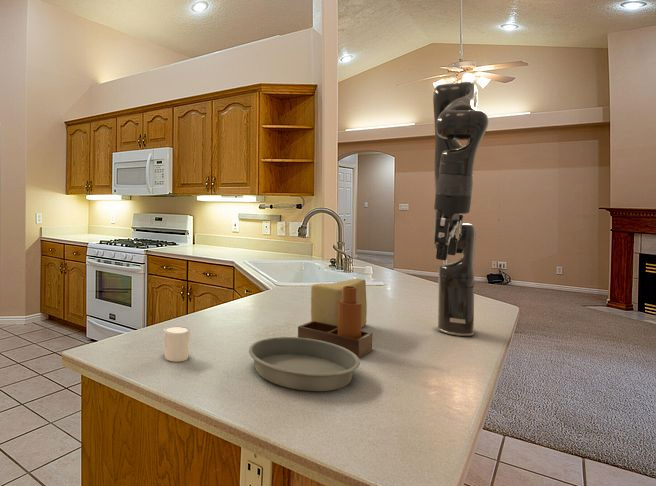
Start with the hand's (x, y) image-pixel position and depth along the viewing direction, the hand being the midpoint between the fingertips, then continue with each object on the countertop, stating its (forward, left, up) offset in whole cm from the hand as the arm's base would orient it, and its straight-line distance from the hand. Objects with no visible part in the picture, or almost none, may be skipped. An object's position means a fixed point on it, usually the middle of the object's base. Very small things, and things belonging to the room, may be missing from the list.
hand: (446, 257), depth 112 cm
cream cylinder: (+47, -48, -26) cm, 72 cm away
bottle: (+10, -20, -25) cm, 34 cm away
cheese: (-7, -29, -26) cm, 40 cm away
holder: (+10, -24, -26) cm, 37 cm away
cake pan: (+33, -21, -26) cm, 47 cm away
